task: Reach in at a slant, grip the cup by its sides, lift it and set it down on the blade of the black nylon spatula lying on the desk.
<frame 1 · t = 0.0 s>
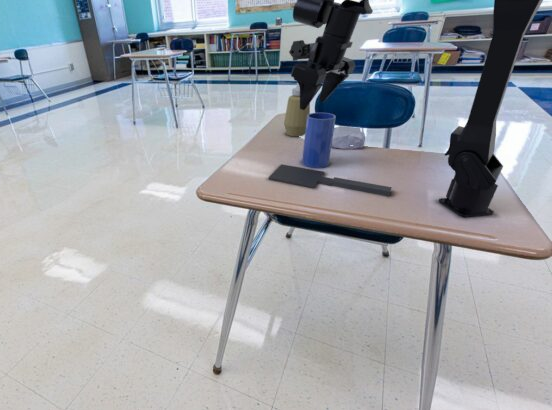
hand: (311, 105, 78), 15 cm above the table, tool pointing down, fingers open, 9 cm apart
spatula: (327, 182, 77), on the table
squeeze bottle: (295, 134, 109), on the table
stone block: (343, 143, 100), on the table
cup: (315, 163, 87), on the table
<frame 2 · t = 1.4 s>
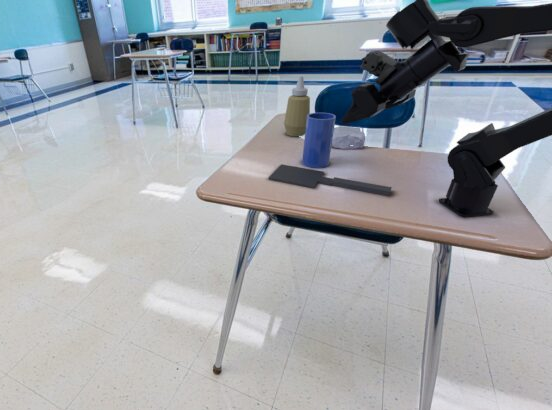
hand: (352, 118, 75), 13 cm above the table, tool tilted 45°, fingers open, 9 cm apart
nothing on the table moved.
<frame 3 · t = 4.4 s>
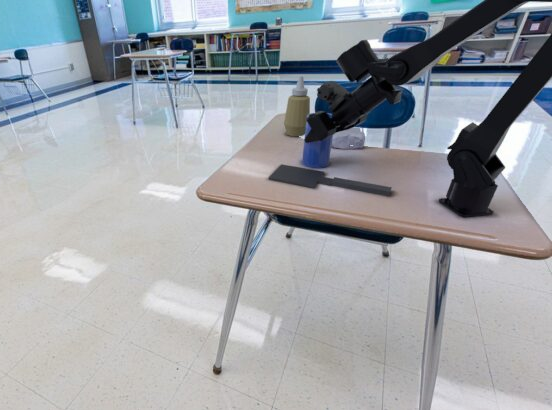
hand: (313, 137, 85), 7 cm above the table, tool tilted 45°, fingers closed on cup, 7 cm apart
cup: (315, 163, 87), on the table, touching gripper
everything else where it was.
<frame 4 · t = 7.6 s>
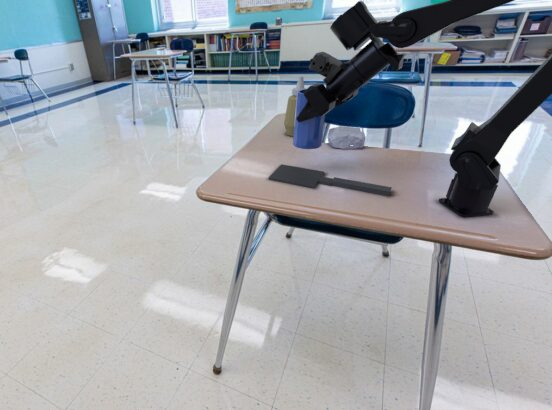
hand: (304, 116, 78), 13 cm above the table, tool tilted 45°, fingers closed on cup, 7 cm apart
cup: (307, 144, 80), point 7 cm above the table, touching gripper
everything else where it was.
when the fingers open (7 cm above the table, at t = 10.8 s): cup stays where it is, resting on spatula.
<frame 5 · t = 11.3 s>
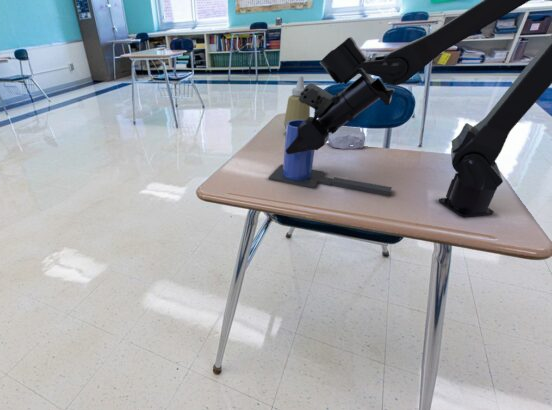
hand: (293, 146, 77), 8 cm above the table, tool tilted 45°, fingers open, 9 cm apart
cup: (296, 174, 80), point 1 cm above the table, touching spatula
everything else where it was.
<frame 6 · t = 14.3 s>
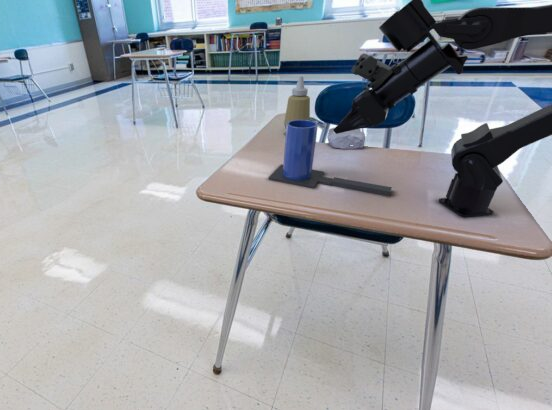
hand: (339, 125, 70), 14 cm above the table, tool tilted 45°, fingers open, 9 cm apart
nothing on the table moved.
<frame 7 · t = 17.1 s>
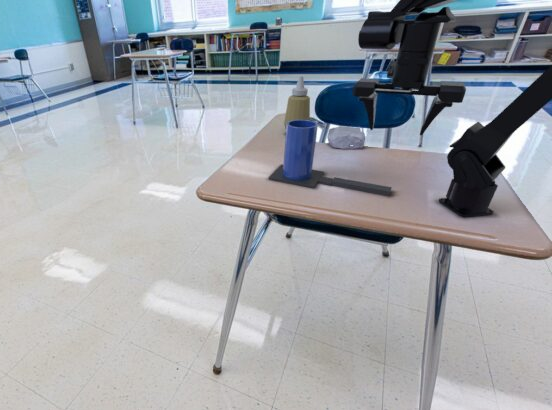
hand: (395, 132, 69), 12 cm above the table, tool pointing down, fingers open, 9 cm apart
nothing on the table moved.
at the end: cup 0.0 cm from the target spot, point 0.6 cm above the table; cup touching spatula; cup tilted 0° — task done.
